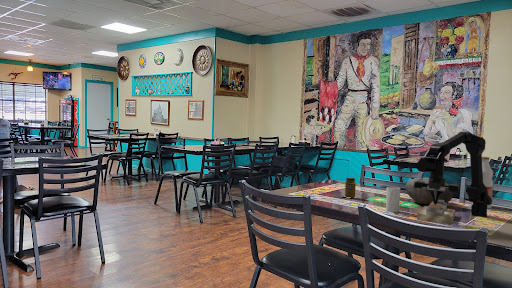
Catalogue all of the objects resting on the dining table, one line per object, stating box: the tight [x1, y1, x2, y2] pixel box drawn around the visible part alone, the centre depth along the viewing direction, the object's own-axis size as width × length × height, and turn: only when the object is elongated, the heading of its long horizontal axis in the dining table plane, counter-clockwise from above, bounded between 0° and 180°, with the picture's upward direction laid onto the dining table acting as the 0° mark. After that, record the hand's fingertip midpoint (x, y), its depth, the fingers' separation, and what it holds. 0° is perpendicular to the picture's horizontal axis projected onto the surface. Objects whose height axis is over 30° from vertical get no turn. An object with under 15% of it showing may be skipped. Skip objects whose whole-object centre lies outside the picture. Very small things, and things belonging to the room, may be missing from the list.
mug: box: [385, 186, 401, 213], centre depth 189 cm, size 10×7×12 cm, turn 145°
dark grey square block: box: [433, 200, 445, 205], centre depth 183 cm, size 4×4×3 cm
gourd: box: [405, 177, 454, 206], centre depth 212 cm, size 25×25×17 cm
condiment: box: [344, 177, 356, 198], centre depth 223 cm, size 7×8×12 cm
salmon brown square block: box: [429, 203, 441, 209], centre depth 173 cm, size 4×4×3 cm
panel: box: [416, 202, 456, 225], centre depth 178 cm, size 14×20×6 cm
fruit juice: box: [471, 156, 494, 209], centre depth 205 cm, size 9×9×28 cm
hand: (435, 204), depth 173 cm, fingers closed, pressing on salmon brown square block
